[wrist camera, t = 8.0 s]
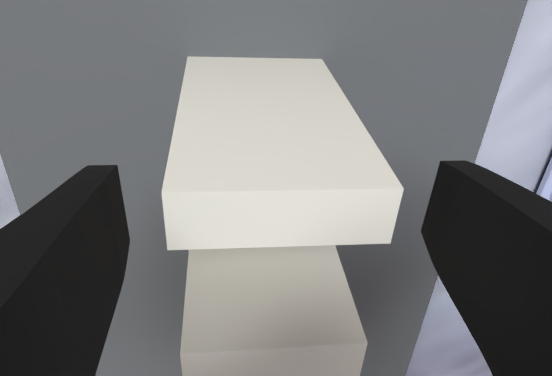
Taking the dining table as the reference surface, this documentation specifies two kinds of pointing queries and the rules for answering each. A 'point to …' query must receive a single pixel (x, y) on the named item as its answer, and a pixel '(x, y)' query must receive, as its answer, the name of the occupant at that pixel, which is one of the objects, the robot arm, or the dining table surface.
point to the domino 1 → (272, 160)
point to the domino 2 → (270, 314)
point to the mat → (163, 108)
